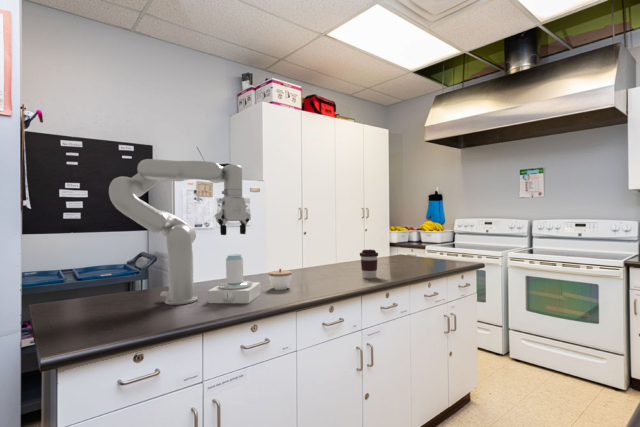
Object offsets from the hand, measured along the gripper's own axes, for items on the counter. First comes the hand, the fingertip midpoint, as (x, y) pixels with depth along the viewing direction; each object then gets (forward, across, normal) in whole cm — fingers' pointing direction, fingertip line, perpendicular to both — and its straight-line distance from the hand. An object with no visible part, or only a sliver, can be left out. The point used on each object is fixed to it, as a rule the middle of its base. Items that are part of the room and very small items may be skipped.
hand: (233, 234), depth 149 cm
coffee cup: (+26, +73, -20) cm, 80 cm away
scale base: (+27, +1, 0) cm, 27 cm away
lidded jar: (+27, +26, -1) cm, 37 cm away
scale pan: (+22, +1, 0) cm, 22 cm away
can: (+21, 0, 0) cm, 21 cm away
